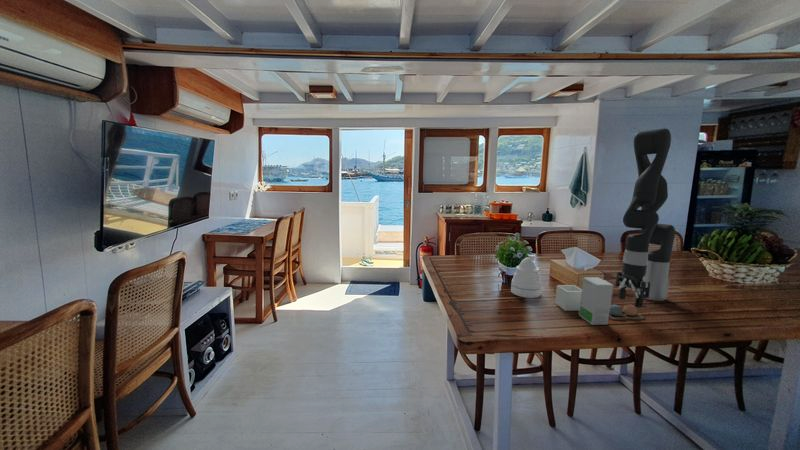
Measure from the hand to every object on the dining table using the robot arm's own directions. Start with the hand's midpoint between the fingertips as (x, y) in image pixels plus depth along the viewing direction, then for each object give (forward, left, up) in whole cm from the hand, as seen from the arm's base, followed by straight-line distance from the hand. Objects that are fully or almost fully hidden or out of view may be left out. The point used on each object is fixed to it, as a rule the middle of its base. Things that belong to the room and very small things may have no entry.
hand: (629, 302), depth 126 cm
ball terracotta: (-1, 0, -5) cm, 5 cm away
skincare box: (+16, +4, -5) cm, 17 cm away
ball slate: (+5, 0, -5) cm, 7 cm away
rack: (+2, 0, -5) cm, 6 cm away
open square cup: (+18, -9, -5) cm, 21 cm away
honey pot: (+29, -26, -5) cm, 40 cm away
